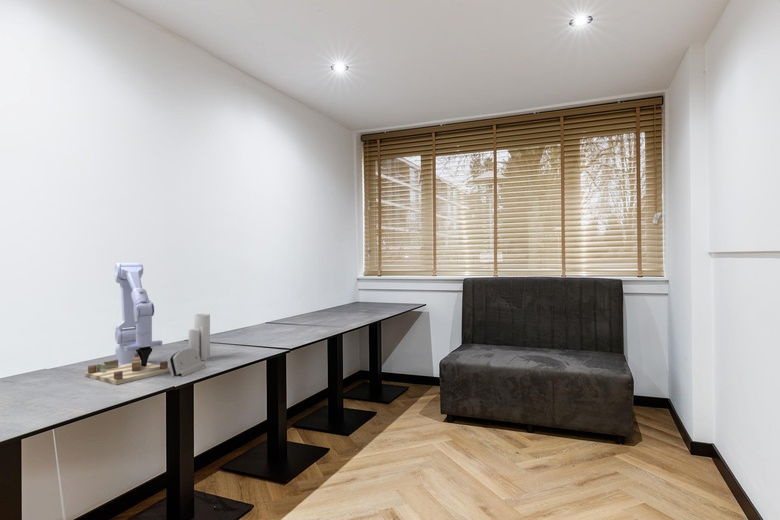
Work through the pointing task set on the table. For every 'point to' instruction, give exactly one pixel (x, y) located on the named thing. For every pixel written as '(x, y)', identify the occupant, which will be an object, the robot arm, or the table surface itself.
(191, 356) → the grey rounded block
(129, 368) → the board
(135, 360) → the folding leg
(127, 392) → the table surface
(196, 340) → the vase
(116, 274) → the robot arm
